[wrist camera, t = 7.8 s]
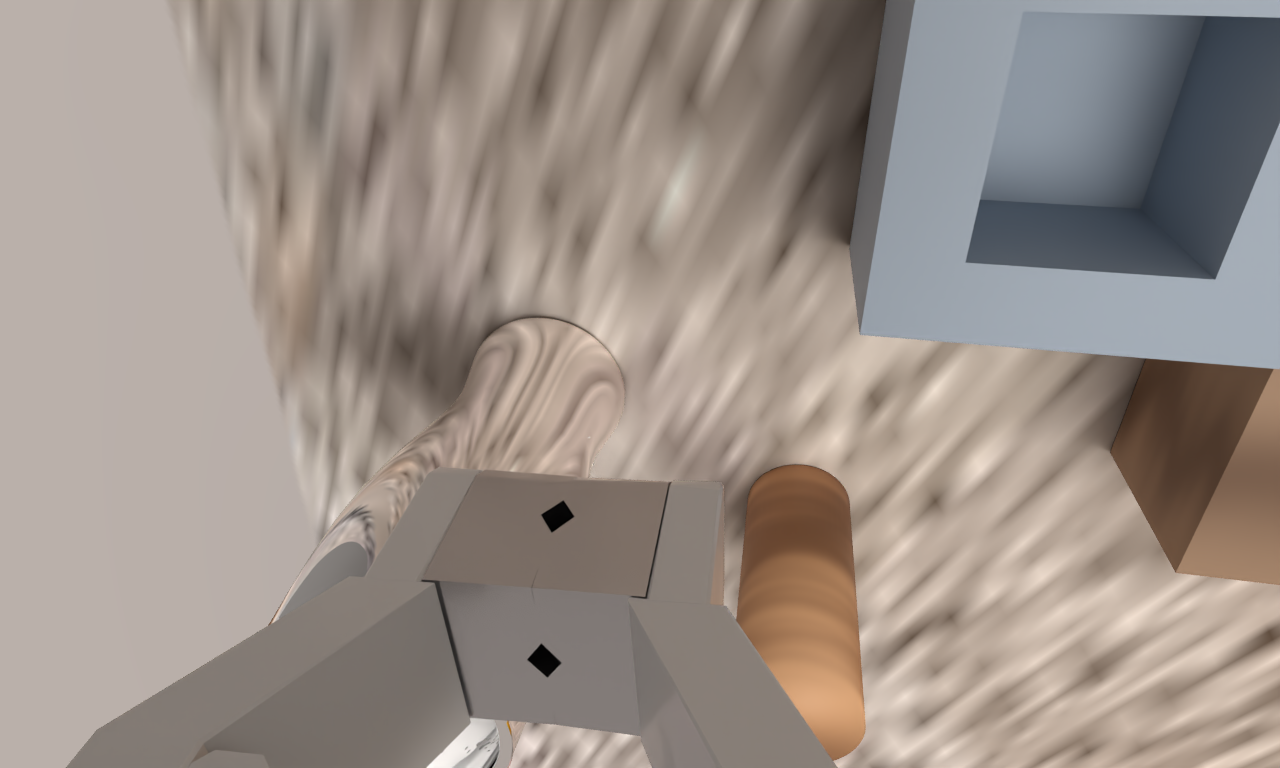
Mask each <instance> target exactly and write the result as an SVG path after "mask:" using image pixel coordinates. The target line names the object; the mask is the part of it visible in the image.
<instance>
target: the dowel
mask: <svg viewBox="0 0 1280 768" xmlns="http://www.w3.org/2000/svg"><path fill="white" fill-rule="evenodd" d="M736 621H737V622H738V624H739V625H740V627H741V628H742V630H743V631H744V633H745V634H746V635H747V637H748V638H749V640H750V641H751V643H752V644H753V646H754V647H755V648H756V650H757V651H758V653H759V654H760V656H761V657H762V659H763V660H764V662H765V663H766V664H767V666H768V667H769V669H770V670H771V672H772V673H773V675H774V676H775V678H776V679H777V680H778V682H779V683H780V685H781V686H782V688H783V689H784V691H785V692H786V694H787V695H788V696H789V698H790V699H791V701H792V702H793V704H794V705H795V707H796V708H797V709H798V711H799V712H800V714H801V715H802V717H803V718H804V720H805V721H806V723H807V724H808V725H809V727H810V728H811V730H812V731H813V733H814V734H815V736H816V737H817V739H818V740H819V741H820V743H821V744H822V746H823V747H824V749H825V750H826V752H827V753H828V754H829V756H830V757H831V759H832V760H833V761H834V760H837V759H839V758H841V757H844V756H846V755H847V754H849V753H850V752H852V751H853V750H854V749H855V748H856V747H857V746H858V745H859V744H860V742H861V741H862V739H863V737H864V734H865V728H866V726H865V712H864V698H863V684H862V670H861V656H860V642H859V628H858V614H857V600H856V586H855V572H854V558H853V544H852V531H851V517H850V503H849V497H848V494H847V492H846V490H845V488H844V487H843V485H842V484H841V483H840V482H839V481H838V480H837V479H836V478H835V477H834V476H832V475H831V474H829V473H827V472H825V471H823V470H821V469H818V468H815V467H812V466H806V465H787V466H782V467H778V468H775V469H773V470H770V471H768V472H767V473H765V474H763V475H762V476H761V477H760V478H759V479H758V480H756V482H755V483H754V484H753V486H752V488H751V489H750V492H749V495H748V502H747V513H746V524H745V534H744V545H743V555H742V566H741V576H740V587H739V597H738V608H737V618H736Z"/></svg>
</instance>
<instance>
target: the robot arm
mask: <svg viewBox="0 0 1280 768" xmlns="http://www.w3.org/2000/svg"><path fill="white" fill-rule="evenodd" d="M723 598H724V486H723V484H722V483H721V482H712V481H677V480H673V481H672V482H666V481H646V480H626V479H605V478H585V477H575V476H562V475H549V474H536V473H523V472H510V471H497V470H484V471H482V470H477V469H462V468H447V467H438V468H436V469H435V470H433V471H431V472H429V473H428V474H427V476H426V477H425V479H424V481H423V482H422V484H421V485H420V487H419V489H418V490H417V492H416V494H415V495H414V497H413V498H412V500H411V502H410V503H409V505H408V507H407V508H406V510H405V511H404V513H403V515H402V516H401V518H400V520H399V521H398V523H397V524H396V526H395V528H394V529H393V531H392V533H391V534H390V536H389V537H388V539H387V541H386V542H385V544H384V546H383V547H382V549H381V550H380V552H379V554H378V555H377V557H376V559H375V560H374V562H373V563H372V565H371V567H370V568H369V570H368V572H367V573H366V575H365V576H364V577H355V576H349V577H348V578H346V579H344V580H343V581H341V582H339V583H338V584H336V585H334V586H333V587H331V588H329V589H328V590H326V591H325V592H323V593H321V594H320V595H318V596H316V597H315V598H313V599H311V600H310V601H308V602H306V603H305V604H303V605H301V606H300V607H298V608H297V609H295V610H293V611H292V612H290V613H288V614H287V615H285V616H283V617H282V618H280V619H278V620H277V621H275V622H274V623H272V624H270V625H269V626H267V627H265V628H264V629H262V630H260V631H259V632H257V633H255V634H254V635H252V636H251V637H249V638H247V639H246V640H244V641H242V642H241V643H239V644H237V645H236V646H234V647H232V648H231V649H229V650H228V651H226V652H224V653H223V654H221V655H219V656H218V657H216V658H214V659H213V660H211V661H209V662H208V663H206V664H205V665H203V666H201V667H200V668H198V669H196V670H195V671H193V672H191V673H190V674H188V675H186V676H185V677H183V678H182V679H180V680H178V681H177V682H175V683H173V684H172V685H170V686H168V687H167V688H165V689H164V690H162V691H160V692H158V693H157V694H155V695H153V696H152V697H150V698H149V699H147V700H145V701H144V702H142V703H140V704H139V705H137V706H135V707H134V708H132V709H131V710H129V711H127V712H126V713H124V714H122V715H121V716H119V717H118V718H116V719H114V720H112V721H111V722H109V723H107V724H106V725H104V726H103V727H101V728H99V729H98V730H96V732H95V733H94V734H93V735H92V736H91V738H90V739H89V740H88V741H87V743H86V744H85V745H84V746H83V747H82V749H81V750H80V751H79V752H78V754H77V755H76V756H75V757H74V759H73V760H72V761H71V762H70V763H69V765H68V766H67V767H66V768H427V767H428V766H429V765H430V764H431V763H432V762H433V761H434V760H435V759H436V758H437V757H438V756H439V755H440V754H441V753H442V752H443V751H444V750H445V749H446V748H447V747H448V746H449V745H450V744H451V743H452V742H453V741H454V740H455V739H456V738H457V737H458V736H459V735H460V734H461V733H462V732H463V731H464V730H465V729H466V728H467V727H468V726H469V725H470V724H471V721H470V718H478V719H491V720H504V721H517V722H530V723H543V724H556V725H563V726H570V727H578V728H585V729H593V730H600V731H608V732H615V733H623V734H630V735H637V736H641V741H642V744H643V746H644V749H645V751H646V754H647V756H648V758H649V761H650V763H651V766H652V768H837V766H836V765H835V763H834V762H833V760H832V759H831V757H830V756H829V754H828V753H827V752H826V750H825V749H824V747H823V746H822V744H821V743H820V741H819V740H818V739H817V737H816V736H815V734H814V733H813V731H812V730H811V728H810V727H809V725H808V724H807V723H806V721H805V720H804V718H803V717H802V715H801V714H800V712H799V711H798V709H797V708H796V707H795V705H794V704H793V702H792V701H791V699H790V698H789V696H788V695H787V694H786V692H785V691H784V689H783V688H782V686H781V685H780V683H779V682H778V680H777V679H776V678H775V676H774V675H773V673H772V672H771V670H770V669H769V667H768V666H767V664H766V663H765V662H764V660H763V659H762V657H761V656H760V654H759V653H758V651H757V650H756V648H755V647H754V646H753V644H752V643H751V641H750V640H749V638H748V637H747V635H746V634H745V633H744V631H743V630H742V628H741V627H740V625H739V624H738V622H737V621H736V619H735V618H734V617H733V615H732V614H731V612H730V611H729V609H728V608H727V606H723Z"/></svg>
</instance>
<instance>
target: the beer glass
mask: <svg viewBox="0 0 1280 768" xmlns="http://www.w3.org/2000/svg"><path fill="white" fill-rule="evenodd" d="M624 405H625V387H624V381H623V378H622V374H621V372H620V369H619V367H618V365H617V363H616V362H615V360H614V359H613V357H612V356H611V354H610V353H609V352H608V351H607V349H606V348H605V347H604V346H603V345H602V344H601V343H600V342H599V341H598V340H596V339H595V338H594V337H593V336H591V335H590V334H589V333H587V332H586V331H584V330H582V329H580V328H578V327H576V326H574V325H572V324H569V323H567V322H564V321H560V320H556V319H551V318H541V317H534V318H524V319H519V320H515V321H512V322H510V323H507V324H505V325H503V326H501V327H500V328H498V329H497V330H495V331H494V332H492V333H491V334H490V335H489V336H488V337H487V338H486V339H485V340H484V342H483V343H482V344H481V346H480V347H479V349H478V351H477V353H476V355H475V357H474V359H473V362H472V365H471V368H470V371H469V374H468V377H467V381H466V384H465V386H464V388H463V391H462V392H461V394H460V396H459V397H458V398H457V400H456V401H455V402H454V403H453V404H452V405H451V406H450V407H449V408H448V409H447V410H446V411H445V412H444V413H443V414H442V415H441V416H439V417H438V418H437V419H436V420H435V421H434V422H432V423H431V424H430V425H429V426H428V427H426V428H425V429H424V430H423V431H422V432H420V433H419V434H418V435H417V436H416V437H415V438H413V439H412V440H411V441H410V442H409V443H408V444H407V445H405V446H404V447H403V448H402V449H401V450H400V451H398V452H397V453H396V454H395V455H394V456H393V457H392V458H391V459H390V460H389V461H388V462H387V463H386V464H385V465H384V466H383V467H382V468H381V469H380V470H379V471H377V472H376V473H375V474H374V475H373V476H372V477H371V478H370V479H369V480H368V481H367V482H366V483H365V484H364V485H363V486H362V488H361V489H360V490H359V491H358V492H357V494H356V495H355V496H354V497H353V499H352V500H351V501H350V502H349V504H348V505H347V506H346V507H345V509H344V510H343V511H342V512H341V513H340V515H339V516H338V517H337V518H336V520H335V521H334V522H333V524H332V525H331V527H330V528H329V530H328V531H327V533H326V534H325V535H324V537H323V538H322V540H321V541H320V543H319V544H318V546H317V547H316V549H315V550H314V551H313V553H312V554H311V556H310V558H309V559H308V561H307V562H306V564H305V565H304V567H303V569H302V570H301V572H300V574H299V575H298V577H297V578H296V580H295V582H294V583H293V585H292V586H291V588H290V590H289V591H288V593H287V595H286V597H285V598H284V600H283V602H282V603H281V605H280V607H279V609H278V610H277V612H276V614H275V615H274V617H273V618H272V620H271V622H270V623H269V625H270V624H272V623H274V622H275V621H277V620H278V619H280V618H282V617H283V616H285V615H287V614H288V613H290V612H292V611H293V610H295V609H297V608H298V607H300V606H301V605H303V604H305V603H306V602H308V601H310V600H311V599H313V598H315V597H316V596H318V595H320V594H321V593H323V592H325V591H326V590H328V589H329V588H331V587H333V586H334V585H336V584H338V583H339V582H341V581H343V580H344V579H346V578H348V577H349V576H355V577H364V576H365V575H366V573H367V572H368V570H369V568H370V567H371V565H372V563H373V562H374V560H375V559H376V557H377V555H378V554H379V552H380V550H381V549H382V547H383V546H384V544H385V542H386V541H387V539H388V537H389V536H390V534H391V533H392V531H393V529H394V528H395V526H396V524H397V523H398V521H399V520H400V518H401V516H402V515H403V513H404V511H405V510H406V508H407V507H408V505H409V503H410V502H411V500H412V498H413V497H414V495H415V494H416V492H417V490H418V489H419V487H420V485H421V484H422V482H423V481H424V479H425V477H426V476H427V474H428V473H429V472H431V471H433V470H435V469H436V468H438V467H447V468H462V469H477V470H482V471H484V470H497V471H510V472H523V473H536V474H549V475H562V476H575V477H585V478H589V477H590V472H591V468H592V465H594V463H593V462H594V460H595V458H596V456H597V454H598V453H599V451H600V450H601V449H602V447H603V446H604V445H605V443H606V442H607V441H608V439H609V438H610V436H611V435H612V434H613V432H614V431H615V429H616V427H617V426H618V424H619V421H620V419H621V417H622V414H623V410H624ZM269 625H268V626H269ZM470 721H471V724H470V725H469V726H468V727H467V728H466V729H465V730H464V731H463V732H462V733H461V734H460V735H459V736H458V737H457V738H456V739H455V740H454V741H453V742H452V743H451V744H450V745H449V746H448V747H447V748H446V749H445V750H444V751H443V752H442V753H441V754H440V755H439V756H438V757H437V758H436V759H435V760H434V761H433V762H432V763H431V764H430V765H429V766H428V767H427V768H509V766H510V764H511V761H512V757H513V753H514V750H515V748H516V745H517V743H518V740H519V738H520V736H521V733H522V731H523V729H524V727H525V724H526V722H517V721H504V720H491V719H478V718H470Z"/></svg>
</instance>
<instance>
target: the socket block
mask: <svg viewBox="0 0 1280 768" xmlns="http://www.w3.org/2000/svg"><path fill="white" fill-rule="evenodd" d="M849 250H850V258H851V266H852V274H853V283H854V291H855V299H856V307H857V315H858V324H859V332H860V335H869V336H881V337H893V338H905V339H917V340H930V341H942V342H954V343H966V344H978V345H990V346H1003V347H1015V348H1027V349H1039V350H1051V351H1063V352H1076V353H1088V354H1100V355H1112V356H1124V357H1136V358H1149V359H1161V360H1173V361H1185V362H1197V363H1209V364H1222V365H1234V366H1246V367H1258V368H1270V369H1280V0H886V6H885V13H884V19H883V26H882V33H881V40H880V46H879V53H878V60H877V67H876V73H875V80H874V87H873V94H872V100H871V107H870V114H869V121H868V127H867V134H866V141H865V148H864V154H863V161H862V168H861V175H860V181H859V188H858V195H857V202H856V208H855V215H854V222H853V229H852V235H851V242H850V249H849Z"/></svg>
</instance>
